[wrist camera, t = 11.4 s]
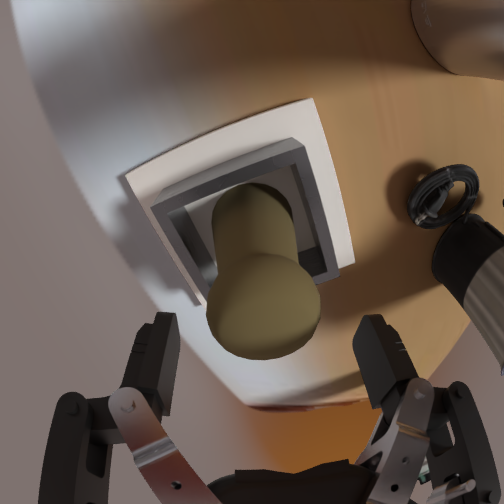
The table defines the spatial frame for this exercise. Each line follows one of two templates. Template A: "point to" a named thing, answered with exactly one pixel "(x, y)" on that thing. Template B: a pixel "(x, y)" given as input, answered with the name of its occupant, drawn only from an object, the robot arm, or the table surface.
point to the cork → (259, 277)
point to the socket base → (236, 144)
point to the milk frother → (465, 251)
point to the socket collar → (232, 173)
